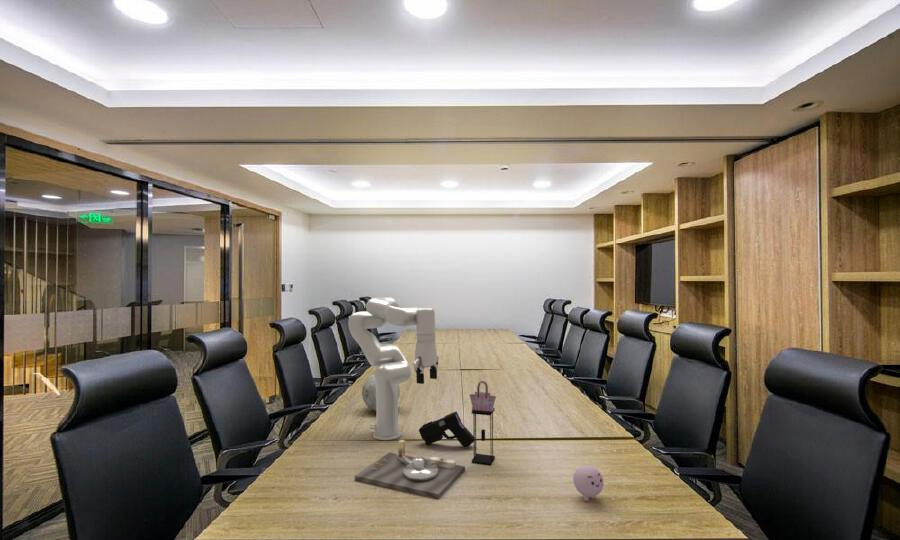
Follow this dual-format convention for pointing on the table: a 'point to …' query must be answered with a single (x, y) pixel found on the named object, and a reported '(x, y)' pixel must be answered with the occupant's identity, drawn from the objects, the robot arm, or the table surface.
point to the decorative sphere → (373, 392)
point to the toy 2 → (588, 481)
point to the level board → (392, 476)
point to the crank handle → (416, 466)
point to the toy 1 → (449, 422)
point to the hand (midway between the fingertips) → (427, 381)
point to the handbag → (482, 406)
